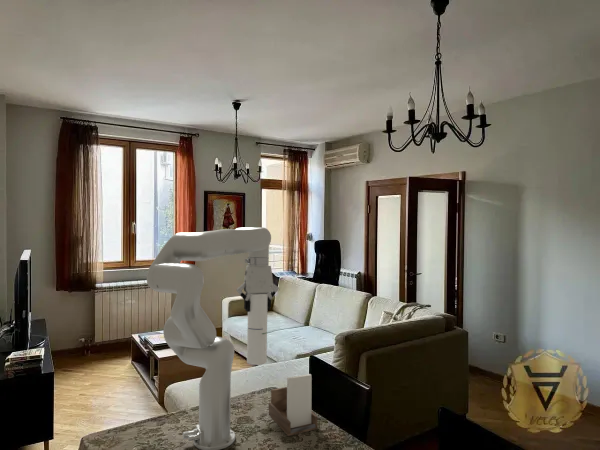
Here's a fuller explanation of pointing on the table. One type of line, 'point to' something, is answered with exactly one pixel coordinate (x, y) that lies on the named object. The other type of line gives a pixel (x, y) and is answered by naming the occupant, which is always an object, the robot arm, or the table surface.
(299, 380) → the block
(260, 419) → the table surface
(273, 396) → the brown wooden tray
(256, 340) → the cylindrical container
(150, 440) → the table surface
